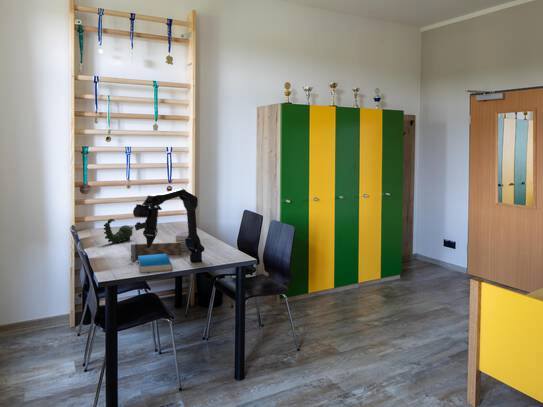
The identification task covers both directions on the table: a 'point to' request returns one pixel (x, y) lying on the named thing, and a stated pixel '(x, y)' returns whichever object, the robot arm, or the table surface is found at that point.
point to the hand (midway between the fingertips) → (149, 247)
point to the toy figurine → (122, 234)
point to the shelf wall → (159, 249)
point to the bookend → (134, 250)
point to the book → (154, 262)
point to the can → (182, 241)
